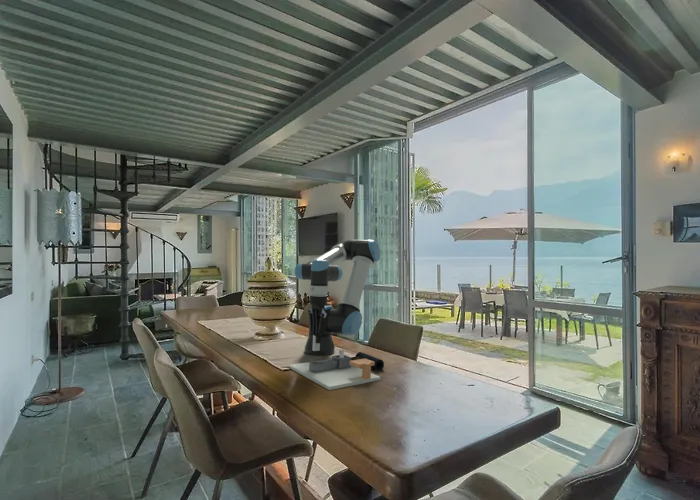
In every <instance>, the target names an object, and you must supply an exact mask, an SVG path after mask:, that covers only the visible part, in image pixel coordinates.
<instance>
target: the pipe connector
mask: <svg viewBox="0 0 700 500" xmlns="http://www.w3.org/2000/svg"><path fill="white" fill-rule="evenodd" d="M365 358H366V359H368V360H371V361H374V362H375V365H374V366H371V370H374V371H377V372H379V371H383V369H384V366H385V362H384V360H382V359H381V358H377V357H375V356H373V355H371V354H367V353H365V352H362V351H359V352H357V353H356V354H355V356H352V357H351V361H352V360H358V359H365Z"/></svg>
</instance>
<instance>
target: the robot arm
mask: <svg viewBox="0 0 700 500" xmlns="http://www.w3.org/2000/svg"><path fill="white" fill-rule="evenodd" d="M380 258H381V248H380V245H379V243H378V241H377V240H374V239H348V240H344V241H341V242H339V243H337V244H335V245H334V246H332V247H331V249H330V250H328V251H326V252H325V253H323V254H321V255H320V256H319V255H318V256H317V257H316V258H314V259H312V260H311V261H309V262H306V263H305V262H304V263H297V264H296V266H295V267H294V276H295V278H296V279H298V280H304V281H305V280H306V281H310V288H309V289H310V290H309V294H310V296H309V304H310V305H311V307H310V309H308V310H307V312H308V317H309V318H308V338H307V340H306V343H305V346H304V353H306V354H308V355H312V356H330V355H333V354H335V349H336V348H335V343H334V340H333V336H332V335H333V334H339V335H345V336H354V335H356V334H357V333H359V332H360V329H361V327H362V324H363V314H362V312H361V309H360V308H359V306H360V303H361V299H362V295H363V291H364V289H365V284H366V282H367V278H368V274H369V271H370V268H372V267H374V263H375V262H379V261H380ZM345 261H352V263H353V265H352V269H351V271H350V275H349V278H348V281H347V285H346V288H345V291H344V295H343V297H342V302H339V303H338V304H337V307H336V308H334V306H333V305H327V304H328V290H329V289H328V287H329V282H334V283H335V282H338V281H339V280H341V279H342V277H343V269H342V267H340V266H339V265H336V264H338V263H342V262H345Z"/></svg>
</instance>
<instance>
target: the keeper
mask: <svg viewBox="0 0 700 500" xmlns="http://www.w3.org/2000/svg"><path fill="white" fill-rule="evenodd" d="M349 364H350V365H352V366H354V367H357V368H360V369H362V378H364V379H371V373H372V368H371V366H374V365H375V362H374V361H371V360H368V359H366V358H365V359H358V360H352V361H350V362H349Z"/></svg>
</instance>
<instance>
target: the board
mask: <svg viewBox="0 0 700 500" xmlns="http://www.w3.org/2000/svg"><path fill="white" fill-rule="evenodd" d="M329 359H330V358H328V359H326V360H329ZM315 361H316V360H315ZM315 361H314V360H313V361H312V362H315ZM319 361H322V360H321V359H320V360H319ZM309 362H310V361H309ZM309 362H300V363H294V364H289V365H288V368H289V367H290V368H291V369H290V368H289V369H290V370H293V371H294V372H296V373H297V374H300V375H302V376H303V377H304V378H307V379H309V380H310V381H312V382H314V383H316V384H317V385H319V386H321V387H322V388H325V389H326V390H328V391H331V390H332V391H333V390H336V389H337V390H338V389H342V388H347V387H352V386H357V385H362V384H367V383H372V382H377V381H381V376H379V375H378V374H374V373H373V372H371V379H364V378H362V368H357V367H354V366H352V365H351V367H348V368H342V369H338V368H337V369H331V370H325V371H319V372H313V371H311V370H309Z"/></svg>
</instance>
